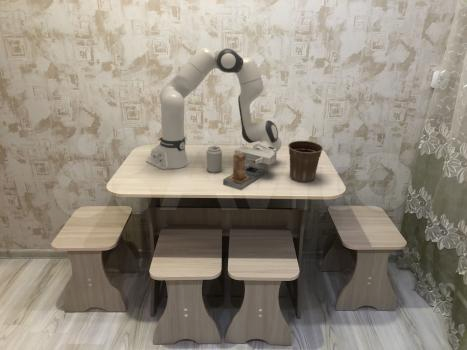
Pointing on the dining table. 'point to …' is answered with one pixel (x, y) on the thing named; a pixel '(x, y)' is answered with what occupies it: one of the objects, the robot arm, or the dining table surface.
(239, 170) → the walnut peg
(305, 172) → the plant pot
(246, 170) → the metal plate
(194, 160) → the dining table surface
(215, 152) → the can
